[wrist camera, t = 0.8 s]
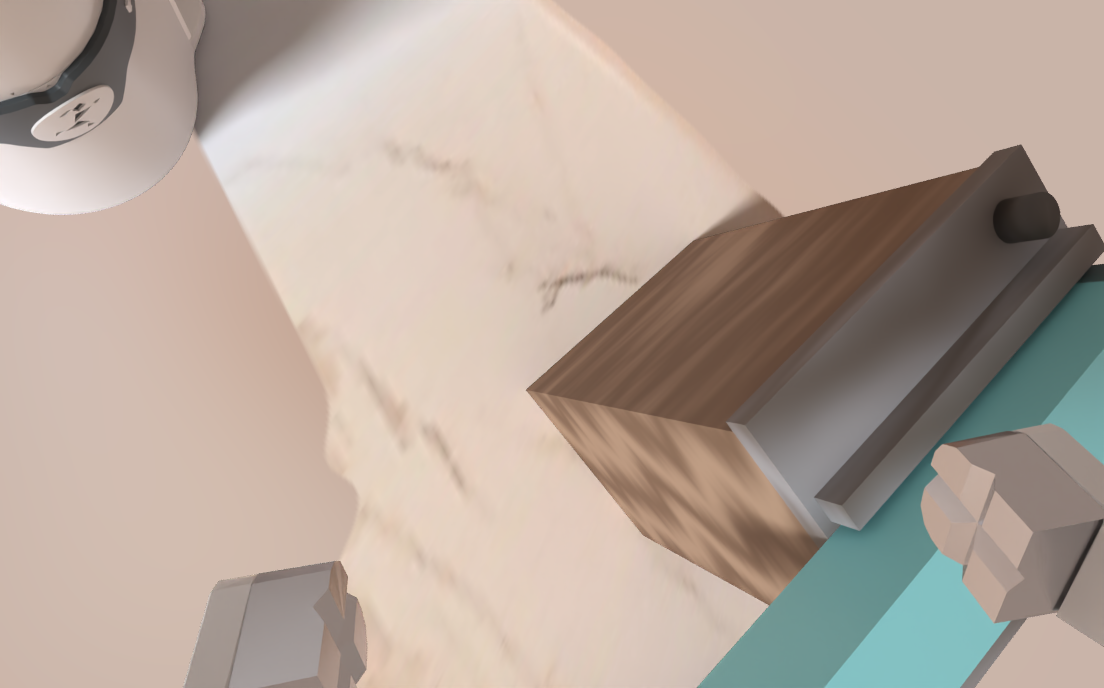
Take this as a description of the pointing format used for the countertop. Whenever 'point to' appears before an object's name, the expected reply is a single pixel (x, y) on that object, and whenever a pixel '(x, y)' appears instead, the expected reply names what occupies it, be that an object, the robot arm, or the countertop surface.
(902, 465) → the brown boxy piece
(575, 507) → the countertop surface
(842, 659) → the long teal bar
